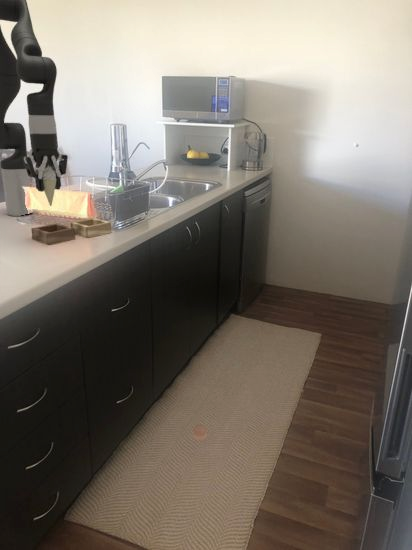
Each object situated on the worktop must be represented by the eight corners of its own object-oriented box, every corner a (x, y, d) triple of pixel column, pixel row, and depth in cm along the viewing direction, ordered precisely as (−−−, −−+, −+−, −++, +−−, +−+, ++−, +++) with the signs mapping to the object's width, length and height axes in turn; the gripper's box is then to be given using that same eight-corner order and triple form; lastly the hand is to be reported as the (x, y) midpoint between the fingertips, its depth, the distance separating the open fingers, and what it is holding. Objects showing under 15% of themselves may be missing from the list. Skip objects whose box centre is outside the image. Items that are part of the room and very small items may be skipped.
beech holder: (71, 232, 145) (70, 222, 144) (94, 227, 152) (93, 218, 150) (88, 237, 139) (87, 227, 138) (111, 232, 146) (110, 222, 145)
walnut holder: (32, 239, 136) (31, 228, 135) (58, 233, 143) (57, 223, 142) (49, 244, 131) (48, 233, 130) (75, 238, 138) (74, 228, 137)
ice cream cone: (51, 203, 137) (46, 154, 131) (62, 205, 134) (58, 156, 129) (38, 206, 133) (33, 155, 127) (49, 208, 130) (44, 157, 125)
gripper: (57, 131, 133) (62, 186, 139) (13, 131, 123) (20, 191, 129) (71, 132, 129) (76, 189, 135) (27, 132, 118) (34, 194, 124)
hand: (49, 189), depth 132 cm, fingers closed on ice cream cone, 5 cm apart
